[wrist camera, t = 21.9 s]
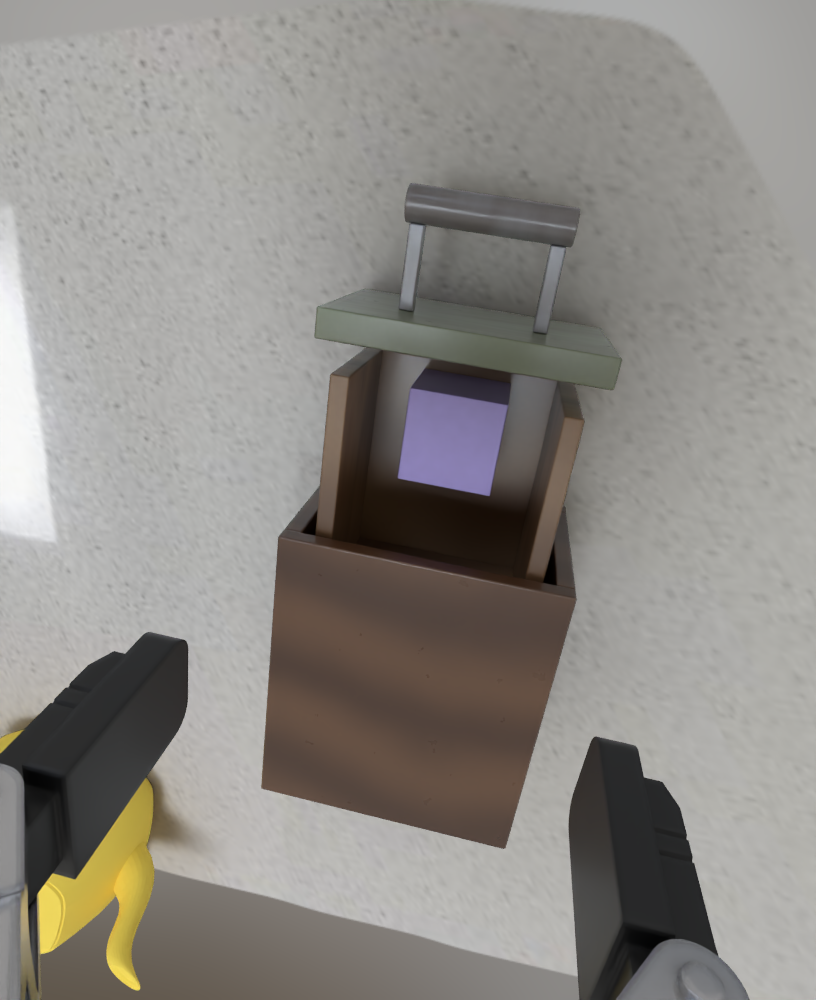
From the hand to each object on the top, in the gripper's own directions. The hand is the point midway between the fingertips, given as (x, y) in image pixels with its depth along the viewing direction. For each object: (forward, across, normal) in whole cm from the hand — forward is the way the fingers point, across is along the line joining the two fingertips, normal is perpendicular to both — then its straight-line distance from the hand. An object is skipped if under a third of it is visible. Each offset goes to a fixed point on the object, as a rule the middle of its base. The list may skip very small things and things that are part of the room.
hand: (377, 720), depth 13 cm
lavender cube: (+22, 0, 0) cm, 22 cm away
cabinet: (+23, 0, +12) cm, 26 cm away
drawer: (+23, +1, -1) cm, 23 cm away
